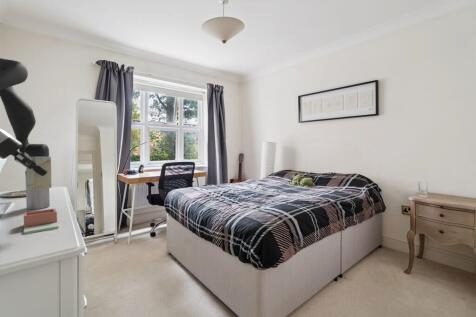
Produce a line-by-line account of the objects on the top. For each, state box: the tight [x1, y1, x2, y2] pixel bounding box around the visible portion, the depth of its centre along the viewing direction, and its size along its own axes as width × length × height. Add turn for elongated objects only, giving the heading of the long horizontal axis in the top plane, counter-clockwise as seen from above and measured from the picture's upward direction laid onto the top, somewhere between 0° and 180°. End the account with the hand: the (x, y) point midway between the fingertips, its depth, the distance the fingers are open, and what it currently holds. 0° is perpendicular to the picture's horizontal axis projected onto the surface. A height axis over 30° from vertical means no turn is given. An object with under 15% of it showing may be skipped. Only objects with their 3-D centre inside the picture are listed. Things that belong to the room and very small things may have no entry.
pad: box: [23, 222, 60, 235], centre depth 90 cm, size 6×10×1 cm, turn 132°
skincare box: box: [25, 156, 52, 190], centre depth 89 cm, size 6×4×12 cm
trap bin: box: [23, 208, 58, 229], centre depth 95 cm, size 7×10×5 cm
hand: (44, 173), depth 90 cm, fingers closed on skincare box, 7 cm apart
